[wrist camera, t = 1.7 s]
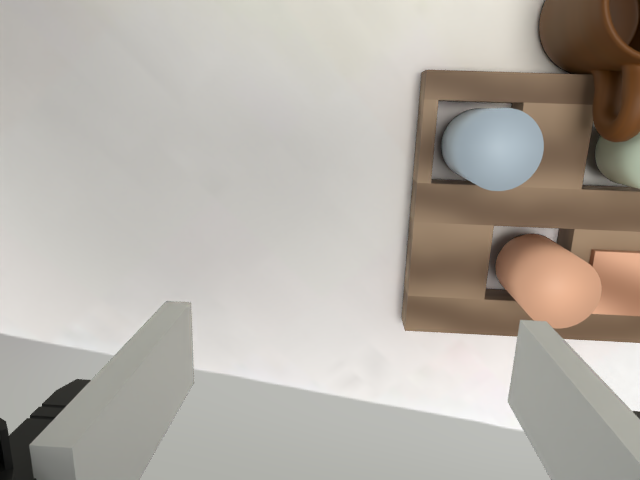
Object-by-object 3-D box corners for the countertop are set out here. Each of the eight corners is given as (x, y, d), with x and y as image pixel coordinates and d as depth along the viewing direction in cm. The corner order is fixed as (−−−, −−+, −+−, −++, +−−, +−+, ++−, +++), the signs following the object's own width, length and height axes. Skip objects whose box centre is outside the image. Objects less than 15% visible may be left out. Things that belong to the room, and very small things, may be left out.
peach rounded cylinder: (499, 232, 37) (528, 254, 31) (566, 235, 37) (608, 258, 31) (491, 293, 38) (517, 326, 32) (556, 297, 38) (594, 330, 32)
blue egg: (444, 107, 35) (464, 106, 29) (515, 109, 35) (549, 109, 29) (438, 177, 36) (455, 189, 30) (506, 179, 36) (537, 192, 30)
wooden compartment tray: (421, 72, 37) (428, 69, 34) (695, 80, 36) (727, 77, 33) (401, 317, 42) (405, 333, 39) (640, 330, 41) (663, 347, 38)
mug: (617, 140, 37) (704, 149, 28) (516, 133, 37) (571, 140, 28) (655, -34, 34) (767, -87, 25) (545, -40, 34) (616, -95, 25)
